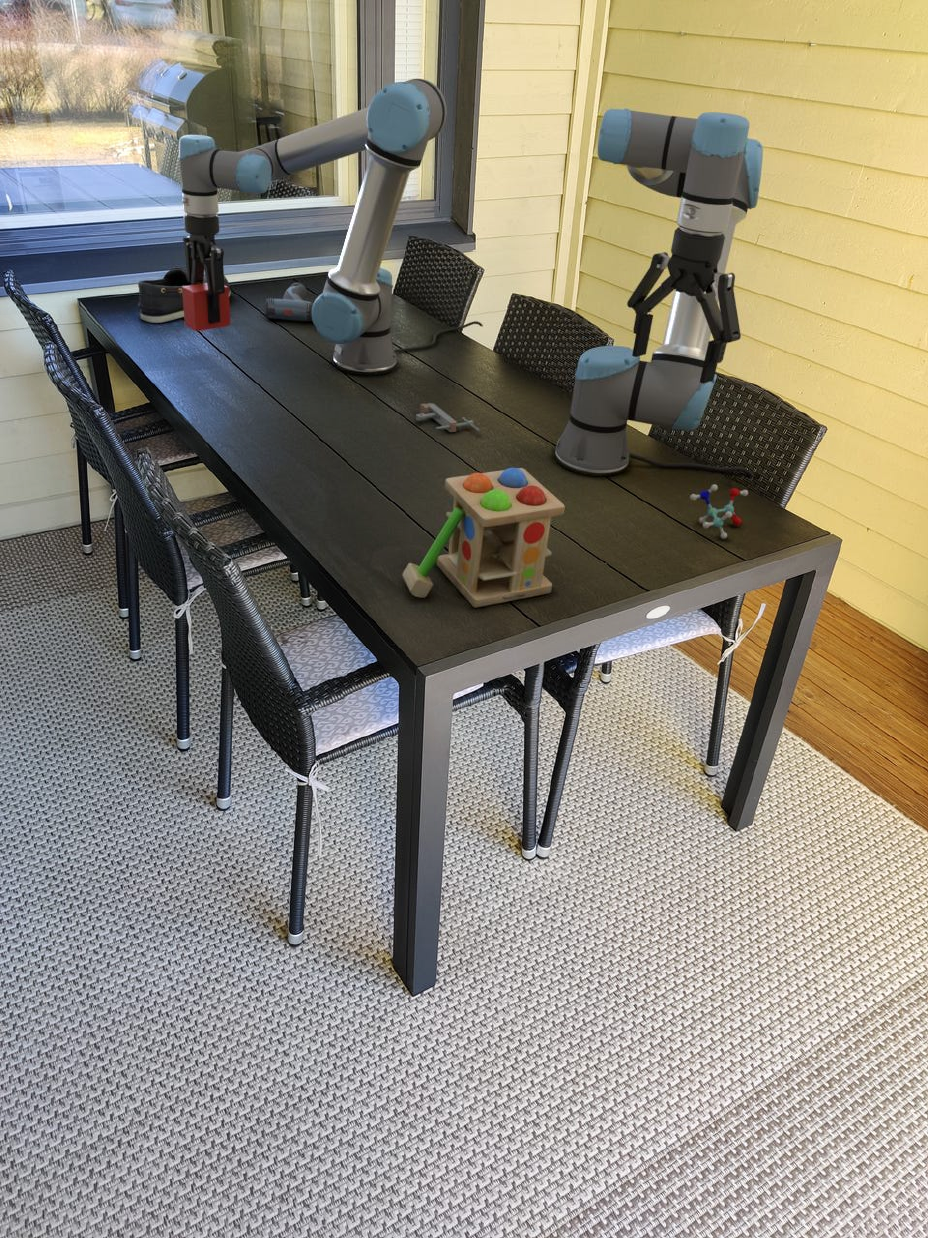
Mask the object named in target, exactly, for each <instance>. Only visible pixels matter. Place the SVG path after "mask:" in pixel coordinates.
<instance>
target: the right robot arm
mask: <svg viewBox="0 0 928 1238" xmlns="http://www.w3.org/2000/svg"><path fill="white" fill-rule="evenodd" d="M599 127H600V128H599V132H598V139H597V157H598V159H599V160H600V161H602V162H606V163H612V164H613V165H624V166H626V168H627V171H628V173H629V175H630V176H631V178H632V179H634V181H636V182H637V183H638V184H640V185H642V186H644V187H646V188H648V189H650V190H652V191H654V192H656V193H659V194H663V195H664V196H668V197H674V198H679V199H680V204H679V208H678V213H677V219H676V224H677V225H678V227H677V228H676V229H674V233H673V238H672V243H671V247H670V252H671V256H669V254H668V252H667V251H664V252H658V253H654V254H653V256H652V258H651V262H650V265H649V268H648V269H647V271H645V274H644V276H643V277H642V279H641V280H640V282H639V283H638V285H637V286H636V288H635V289H634V291H633V292H632V294H631V296H630V297H629V298H628V300H627V303H626V305H627V307H628V308H629V309H633V310H634V313H635V319H634V324H633V329H632V330H633V334H635V338H634V343H633V348H631V347H627V346H621V345H603V346H597V347H593V348H590V349H588V350H586V351H584V352H583V353H582V354H581V355H580V357H579V360H578V363H577V368H576V372H575V374H574V387H573V392H572V398H571V405H570V412H569V417H568V422H567V424H566V426H565V428H564V430H563V432H562V434H561V435H560V437H558V440H557V442H556V447H555V450H554V451H555V452H554V458H555V459H554V460H556V462H557V463H558V464H559V465H560V466H561V467H563V468H565V469H566V470H569V471H572V472H573V473H577V474H580V475H585V476H590V477H591V476H592V477H611V476H616V475H619V474H622V473H625V471H626V470H627V469H628V467H629V462H630V459H633V460H636V461H640V462H643V463H646V464H649V465H652V466H655V467H661V468H692V469H693V468H694V469H699V470H707V471H708V470H709V471H714V472H728V473H729V472H743V473H746V474H747V475H748V476H749V477H750V478H755V474H754V473H753V472H752V471H751V472H748V470H747V469H748V468H746V467H745V466H744V467H743V466H732V467H731V466H730V467H729V466H728V467H722V466H713V465H707V464H700V463H692V462H660V461H656V460H652V459H649V458H646V457H644V456H640V455H637V454H633V453H630V449H629V444H628V442H629V441H628V436H627V425H628V421H631V422H636V423H641V424H647V425H652V426H658V427H661V428H663V427H664V428H668V429H671V430H680V431H688V432H690V431H694V430H696V429H697V428H698V427H699V426H700V423H701V421H702V418H703V415H704V413H705V411H706V408H707V405H708V402H709V399H710V396H711V393H712V391H713V389H714V385H715V383H716V381H717V379H718V375H717V374H716V372H717V368H718V364H721V363H722V362H723V360H724V357H725V353H726V349H727V346H728V344H729V343H733V342H736V341H740V340H741V338H742V337H741V336H742V334H741V329H740V327H741V326H740V322H739V316H738V309H737V302H736V296H735V291H734V290H735V289H734V288H735V282H736V275H735V273H734V272H728V273H726V269H727V265H728V260H729V256H730V253H731V248H732V244H733V238H734V234H735V230H736V227H737V225H738V224H739V223H741V222H742V221H743V220H745V219H746V218H747V215H748V210H752V209H755V208H756V207H757V205H758V201H759V193H760V185H761V180H762V179H761V178H762V169H763V168H762V167H763V157H764V156H763V155H764V148H763V144H762V143H761V141H759V140H758V139H754V138H749V131H750V121H749V120H748V118H747V117H745V116H742V115H739V114H735V113H728V112H719V111H717V112H716V111H708V112H702V113H701V114H699V115H698V117H697V118H694V117H693V118H692V117H687V116H679V115H677V116H676V115H668V114H667V115H666V114H659V113H652V112H645V111H639V110H638V111H637V110H631V109H630V108H623V109H622V108H609V109H607V110H606V111H605V112H604V114H603V116H602V119H601V123H600V126H599ZM666 269H667V270H668V274H669V276H668V277H666V278H665V280H663V281H662V282H661V283H660V285H659V286H658V287H657V288H656V289H655V290H654V291H653V292H652V293H651V294H650V292H651V291H652V289H653V288H654V287H655V285H656V284H657V282H658V281H659V278H660V277H661V276H662V275H663V273H664V271H665V270H666ZM672 292H673V295H672V300H671V305H670V309H669V314H668V318H667V323H666V327H665V332H664V336H663V341H662V345H661V346H660V347H658V348H657V349H656V350H654V351H653V352H652V355H651V359H650V361H645V360H641V357H642V356H645V355H647V351H648V345H649V339H650V335H651V329H652V325H653V320H654V314H651V312H653V311H652V310H653V309H655V307H657V306H658V305H659V304H660V303H661V302H662V301H663V300H664V299H665V298H667V297H668V296H669V295H670V294H671V293H672ZM711 336H712V339H713V340H711Z"/></svg>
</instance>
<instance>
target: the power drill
mask: <svg viewBox="0 0 928 1238" xmlns="http://www.w3.org/2000/svg"><path fill="white" fill-rule="evenodd" d="M307 295H308V290H307V287H306V285H304V284H303V283H301V282H293V283H292V284H291V285H290V286H289V287H288V288H287V289H286V291H285V292H284V294H283V297H282V298H266V299H265V302H264V313H265V314H264V316H265V318H267V319H274V320H275V319H276V320H283V321H294V322H295V321H297V322H313V320H312V307H313V304H314V302H313V301H307V300H305V299H306V297H307Z"/></svg>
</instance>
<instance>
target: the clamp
mask: <svg viewBox="0 0 928 1238" xmlns="http://www.w3.org/2000/svg"><path fill="white" fill-rule="evenodd" d="M419 407H420V409H419V413H416V415H415V419H416V420H417V421H419V422H420V421H427V420H428V419H433V420H434V421H435V422H436V423H438V424H439V425H440V426H436V427H435V430H443V431H444V430H446V431H448V432H449V433H454V432H457V428H461V427H466V428H470V427H471V428H473V429H474V430H476V433H477V434H479V433H481V432H482V428H479V427H477V426H476V425H475V424H474V420H472V419H470V420H467V419H466V417H465V416H462V417H461V418H460V420H461V421H462V422H457V421H456V420H455V419H454V418H453V417H451V416H450V415H449V414H448V413H446V412H445V411H444V410H443V409H442V408H440V407H438V405H436V404H435V403H433V402H431V403H430V402H429V403H421V404H420V406H419Z"/></svg>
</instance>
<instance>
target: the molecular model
mask: <svg viewBox="0 0 928 1238" xmlns="http://www.w3.org/2000/svg"><path fill="white" fill-rule="evenodd" d="M718 488H719V487H718V485H717V484H715V483H714V484H712V485H710V488H709V489H708V490H702V491H701V492H700V493H699V494H695V493H692V494H690V496H689V499H690V501H693V502H694V501H696V500H697V499H701V500H702V501H705V504H706V506H707V508H708V509H707V511H706V512H707V514H706V515H705V516H701V517H699V519H698V522H699V523H700V525H701V524H702V528H703V529H709V527H712V526H713V527H714V528H717V529H718V530H719V532H720V535H719V537H720V539H722V540H725V539H727V537H728V533H727V532H725V531H724V528H723V526H724V521H725V520H727V519H731V520H732V524H733V525H734V526H735V527H739V526H741V525H742V519H741V518H740V517H738V516H737V514H736V513H735V512H734V511H735V507H734V506H733V504H734V500H735V498H736V497H738V496H739V495H741V496H742V497H747V496H748V494H749V491H748V490H747V489H742V490H739V489H737V488H735V487H734V488H731V489H730V490H729V496H730V500H729V502H728V504H726V505H724V507H723V508H719V509H717V508H716V507H712V505H711V502H710V500H709V499H710V494H711V493H713V492H716V491H717V490H718ZM720 513H725V514H724V516H722V517H717V515H718V514H720ZM709 518H713V521H710V522H708V521H706V520H707V519H709Z"/></svg>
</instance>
